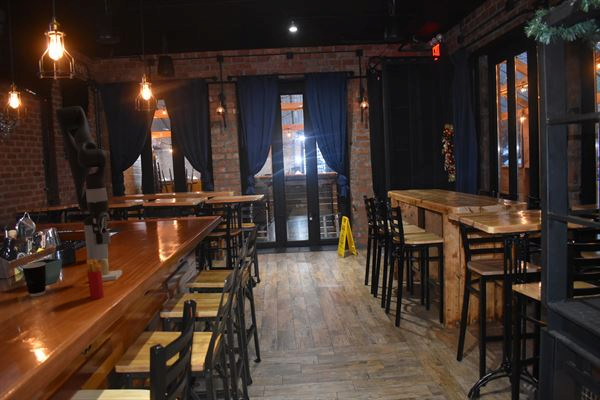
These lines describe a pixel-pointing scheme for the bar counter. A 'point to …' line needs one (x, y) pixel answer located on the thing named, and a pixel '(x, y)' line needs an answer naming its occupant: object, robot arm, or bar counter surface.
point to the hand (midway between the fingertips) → (102, 242)
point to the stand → (109, 274)
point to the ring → (105, 238)
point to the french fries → (95, 279)
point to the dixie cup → (35, 278)
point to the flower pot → (51, 269)
